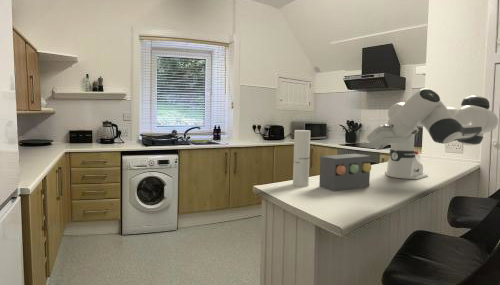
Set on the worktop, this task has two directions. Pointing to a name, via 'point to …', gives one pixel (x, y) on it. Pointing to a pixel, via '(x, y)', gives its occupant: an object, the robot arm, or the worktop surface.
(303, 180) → the cylindrical container
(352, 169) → the sage green button
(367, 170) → the ochre button
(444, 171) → the worktop surface
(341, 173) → the terracotta button
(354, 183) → the control panel
